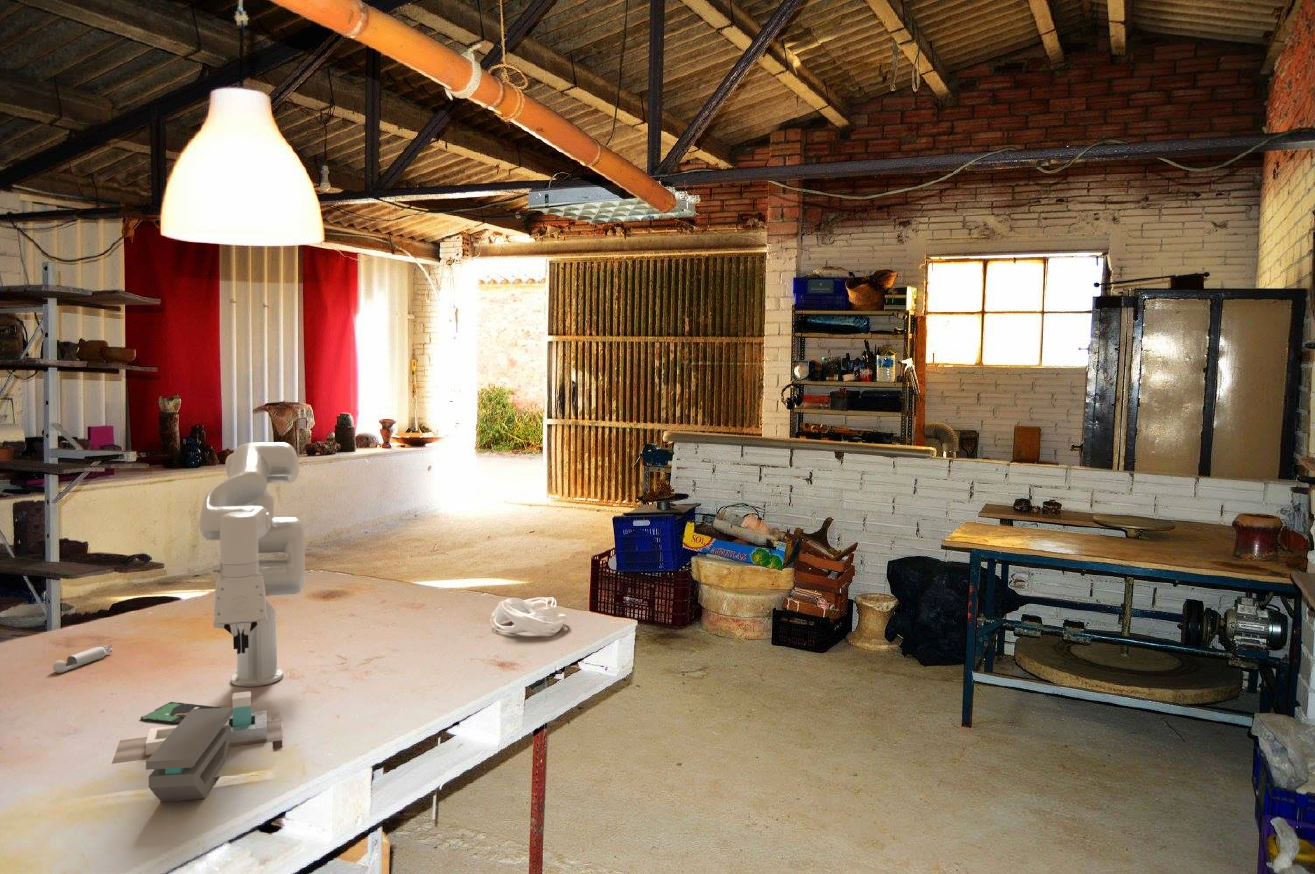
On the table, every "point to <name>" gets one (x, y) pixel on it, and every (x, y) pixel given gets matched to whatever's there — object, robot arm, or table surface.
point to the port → (249, 729)
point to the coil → (528, 616)
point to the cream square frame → (157, 738)
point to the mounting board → (137, 751)
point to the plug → (241, 708)
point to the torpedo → (82, 658)
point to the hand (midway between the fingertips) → (241, 651)
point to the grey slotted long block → (191, 756)
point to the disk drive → (172, 713)
